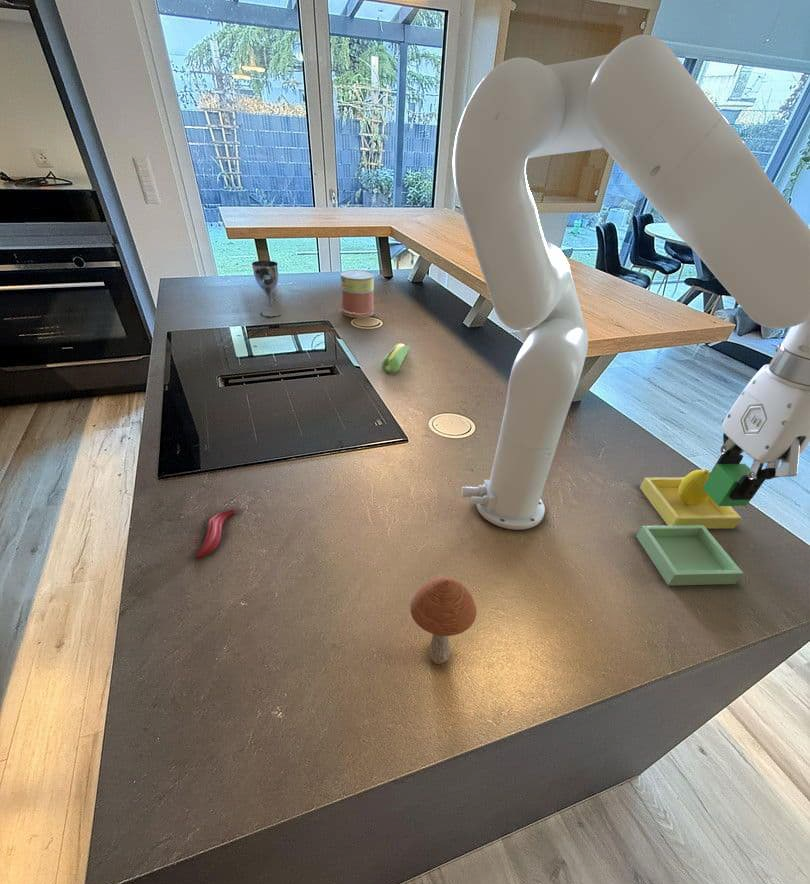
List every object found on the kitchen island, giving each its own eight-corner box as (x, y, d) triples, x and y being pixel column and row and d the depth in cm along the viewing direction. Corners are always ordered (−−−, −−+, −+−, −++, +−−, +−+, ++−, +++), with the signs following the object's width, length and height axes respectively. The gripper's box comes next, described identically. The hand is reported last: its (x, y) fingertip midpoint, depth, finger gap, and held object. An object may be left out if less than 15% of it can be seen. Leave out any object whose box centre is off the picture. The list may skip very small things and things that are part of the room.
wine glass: (255, 316, 155) (247, 265, 145) (264, 308, 161) (257, 259, 150) (278, 318, 154) (272, 267, 144) (286, 311, 160) (281, 262, 150)
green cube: (718, 506, 68) (734, 482, 65) (701, 488, 72) (716, 463, 68) (746, 505, 69) (764, 481, 66) (729, 487, 72) (744, 463, 69)
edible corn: (378, 375, 126) (378, 359, 123) (396, 349, 140) (397, 334, 137) (396, 378, 125) (397, 362, 122) (412, 352, 139) (413, 336, 136)
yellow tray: (670, 529, 84) (676, 518, 83) (639, 487, 94) (644, 477, 92) (733, 528, 86) (741, 517, 84) (697, 487, 95) (703, 477, 93)
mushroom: (403, 631, 65) (410, 555, 54) (459, 629, 65) (476, 554, 55) (408, 683, 59) (417, 609, 49) (469, 679, 60) (490, 606, 49)
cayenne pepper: (224, 508, 82) (222, 499, 80) (247, 515, 81) (245, 506, 79) (178, 552, 73) (175, 543, 72) (203, 560, 72) (200, 551, 71)
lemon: (705, 516, 87) (727, 481, 81) (674, 511, 87) (695, 476, 82) (697, 498, 91) (718, 464, 85) (668, 494, 91) (687, 459, 86)
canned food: (345, 306, 168) (344, 268, 160) (375, 308, 167) (376, 271, 159) (338, 316, 160) (337, 277, 151) (371, 318, 159) (371, 280, 151)
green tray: (667, 585, 74) (675, 574, 72) (636, 536, 82) (641, 525, 81) (734, 584, 75) (743, 573, 73) (696, 535, 83) (703, 525, 82)
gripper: (736, 341, 62) (676, 457, 75) (831, 398, 50) (740, 525, 62) (787, 342, 63) (719, 456, 75) (893, 399, 51) (791, 524, 63)
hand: (729, 486), depth 69 cm, fingers closed on green cube, 4 cm apart
